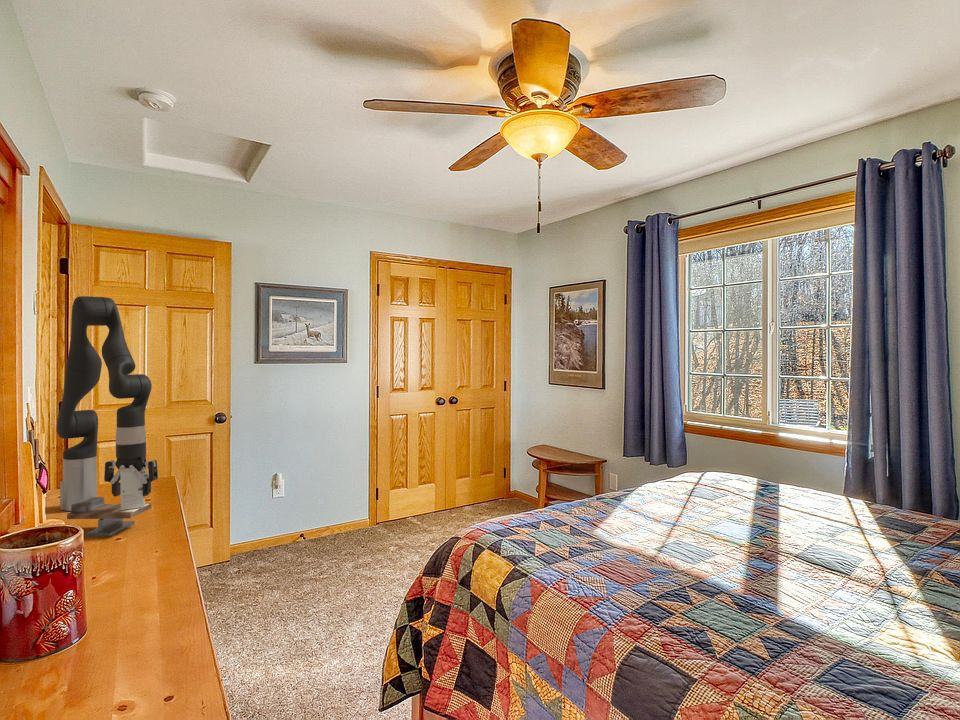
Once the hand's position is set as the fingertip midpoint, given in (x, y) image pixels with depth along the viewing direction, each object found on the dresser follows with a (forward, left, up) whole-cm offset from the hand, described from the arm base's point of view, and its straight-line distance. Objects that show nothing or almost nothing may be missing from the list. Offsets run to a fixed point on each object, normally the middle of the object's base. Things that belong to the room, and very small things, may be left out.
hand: (131, 495), depth 156 cm
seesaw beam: (-6, 0, -5) cm, 8 cm away
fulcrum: (-6, 0, -10) cm, 12 cm away
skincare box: (+1, 0, -4) cm, 4 cm away
